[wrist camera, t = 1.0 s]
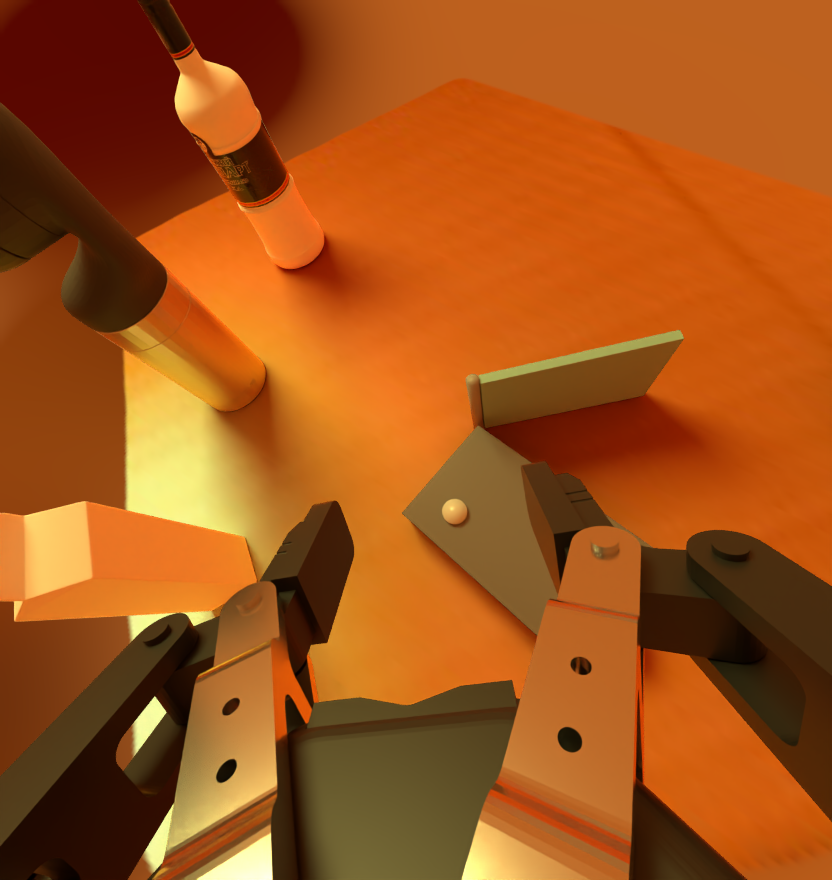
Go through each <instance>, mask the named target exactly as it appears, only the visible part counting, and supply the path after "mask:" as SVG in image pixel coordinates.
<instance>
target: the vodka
mask: <svg viewBox="0 0 832 880" xmlns="http://www.w3.org/2000/svg"><path fill="white" fill-rule="evenodd" d="M138 2H139V4H140V5H141V7H142V9H143V10H144V12H145V14H146V15H147V16H148V18H149V20H150V22H151V23H152V25H153V27H154V28H155V30H156V31H157V33H158V35H159V37H160V38H161V40H162V41H163V43H164V45H165V46H166V48H167V50H168V51H169V53H170V54H171V56H172V58H173V59H174V61H175V64H176V65H177V67H178V69H179V70H180V73H181V74H180V78H179V82H178V86H177V91H176V96H175V106H176V111H177V113H178V116H179V119H180V121H181V122H182V124H183V125H185V127H186V128H187V129H188V130H189V131H190V132H191V134H192V136H193V137H194V138H195V140H196V142H197V144H198V145H199V146H200V147H201V149H202V150H203V152H204V153H205V155H206V156H207V158H208V159H209V161H210V162H211V164H212V165H213V166H214V168H215V169H216V171H217V172H218V174H219V175H220V177H221V178H222V180H223V181H224V183H225V184H226V186H227V187H228V189H229V190H230V192H231V193H232V195H233V196H234V198H235V199H236V201H237V203H238V206H239V208H240V209H241V210H242V211H243V212H244V213H245V214H246V216H247V217H248V219H249V220H250V221H251V223H252V225H253V226H254V228H255V230H256V231H257V233H258V235H259V237H260V238H261V240H262V242H263V244H264V246H265V249H266V252H267V253H268V255H269V257H270V258H271V260H272V261H273V262H274V263H275V264H276V265H278V266H280V267H282V268H285V269H296V268H300V267H302V266H305V265H307V264H309V263H310V262H312V261H313V260H314V259H315V258H316V257H317V256H318V255H319V254H320V252H321V250H322V248H323V246H324V233H323V231H322V229H321V227H320V225H319V223H318V222H317V221H316V220H315V219H314V218H313V216H312V214H311V213H310V211H309V210H308V208H307V206H306V205H305V203H304V201H303V199H302V198H301V196H300V194H299V192H298V190H297V188H296V186H295V184H294V180H293V177H292V176H291V175H290V173H288V171H287V169H286V167H285V165H284V163H283V161H282V159H281V157H280V155H279V153H278V151H277V149H276V147H275V146H274V144H273V142H272V140H271V138H270V136H269V134H268V132H267V130H266V128H265V126H264V124H263V122H262V120H261V115H260V113H259V111H258V109H257V108H256V107H255V105H254V103H253V100H252V98H251V95H250V93H249V91H248V89H247V86H246V84H245V83H244V82H243V80H242V79H241V78H240V77H239V76H238V75H237V74H236V72H234V71H233V70H231V69H230V68H227V67H225V66H222V65H218V64H215V63H211V62H208V61H204V60H203V59H202V58H201V57H200V55H199V53H198V52H197V50H196V49H195V46H194V44H193V43H192V41H191V39H190V37H189V35H188V34H187V32H186V30H185V28H184V27H183V25H182V23H181V21H180V19H179V18H178V16H177V14H176V12H175V11H174V9H173V7H172V5H171V4H170V2H169V0H138Z"/></svg>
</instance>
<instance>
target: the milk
mask: <svg viewBox="0 0 832 880" xmlns="http://www.w3.org/2000/svg"><path fill="white" fill-rule="evenodd" d="M253 583H257V579H256V575H255V572H254V568H253V565H252V561H251V558H250V554H249V550H248V547H247V543H246V540H245V537H243V536H238V535H234V534H229V533H225V532H221V531H216V530H212V529H207V528H203V527H198V526H194V525H189V524H185V523H180V522H176V521H172V520H167V519H163V518H158V517H154V516H149V515H145V514H140V513H136V512H131V511H127V510H122V509H117V508H114V507H109V506H105V505H100V504H96V503H91V502H87V501H85V502H79V503H75V504H71V505H67V506H63V507H59V508H55V509H51V510H46V511H42V512H39V513H34V514H30V515H26V516H21V515H14V514H8V513H0V601H14V621H15V622H20V621H38V620H56V619H74V618H92V617H109V616H129V615H147V614H165V613H183V612H201V611H212V610H214V609H216V608H218V607H220V606H221V605H223V604H225V603H226V602H227V601H228V600H229V599H230V598H231V597H232V596H233V595H234V594H235V593H237V592H238V591H240V590H241V589H243V588H244V587H246V586H248V585H251V584H253Z"/></svg>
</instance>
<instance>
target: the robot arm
mask: <svg viewBox="0 0 832 880" xmlns="http://www.w3.org/2000/svg"><path fill="white" fill-rule="evenodd" d="M68 233H71V234H73V235H75V236H77V237H78V238H79V243H78V249H77V252H76V255H75V258H74V260H73V262H72V264H71V265H70V268H69V269H68V271H67V273H66V275H65V278H64V281H63V284H62V289H61V297H62V302H63V304H64V307H65V308H66V310H67V311H68V312H69V313H70V314H71V315H72V316H74V317H75V318H76V319H78V320H79V321H81V322H82V323H84V324H85V325H87V326H88V327H90V328H91V329H93V330H95V331H96V332H98V333H99V334H101V335H102V336H104V337H105V338H107V339H109V340H110V341H112V342H113V343H115V344H116V345H118V346H119V347H121V348H122V349H124V350H126V351H127V352H129V353H130V354H132V355H133V356H135V357H136V358H138V359H140V360H141V361H143V362H144V363H146V364H147V365H149V366H150V367H152V368H153V369H155V370H157V371H158V372H160V373H161V374H163V375H164V376H166V377H167V378H169V379H170V380H172V381H174V382H175V383H177V384H178V385H180V386H181V387H183V388H184V389H186V390H187V391H189V392H190V393H192V394H193V395H195V396H196V397H198V398H200V399H201V400H203V401H204V402H206V403H207V404H209V405H210V406H212V407H214V408H215V409H217V410H220V411H228V412H229V411H235V410H238V409H240V408H243V407H244V406H246V405H248V404H249V403H250V402H251V401H253V400H254V399H255V398H256V396H257V395H258V394H259V392H260V391H261V389H262V387H263V385H264V382H265V377H266V370H265V366H264V364H263V362H262V361H261V360H260V359H259V358H258V357H257V356H256V355H255V354H254V353H253V352H252V351H251V350H250V349H249V348H248V347H247V346H246V345H245V344H244V343H243V342H242V341H241V340H240V339H239V338H238V337H237V336H236V335H235V334H234V333H233V332H232V331H231V330H230V329H228V328H227V327H226V326H225V325H224V324H223V323H222V322H221V321H220V320H219V319H218V318H217V317H216V316H215V315H214V314H213V313H212V312H211V311H210V310H209V309H208V308H207V307H206V306H205V305H204V304H203V303H202V302H201V301H200V300H199V299H198V298H197V297H196V296H195V295H193V294H192V293H191V292H190V291H189V290H188V289H187V288H186V287H185V286H184V285H183V284H182V283H181V282H180V281H179V280H178V279H177V278H176V277H175V276H174V275H173V274H172V273H171V272H170V271H169V270H168V269H166V268H165V267H164V266H163V265H162V264H161V263H160V262H159V261H158V260H157V259H156V258H155V257H154V256H153V255H152V254H151V253H150V252H149V251H148V250H147V249H146V248H145V247H144V246H143V245H142V244H141V243H140V242H138V241H137V240H136V239H135V238H134V237H133V236H132V235H131V234H130V233H129V232H128V231H127V230H126V229H125V228H124V227H123V226H122V225H121V224H120V223H119V222H118V221H117V220H116V219H115V218H114V217H113V216H112V215H111V214H110V213H109V212H108V211H107V210H106V209H105V208H104V207H103V206H102V205H101V204H100V203H99V202H98V201H97V200H96V199H95V198H94V197H93V196H92V195H91V193H90V192H89V191H87V189H86V188H85V187H84V186H83V185H82V184H81V183H80V182H79V181H78V180H77V179H76V178H75V176H74V175H73V174H72V173H71V172H70V171H69V170H68V169H67V168H66V167H65V166H64V165H63V164H62V163H61V162H60V160H58V158H57V157H56V156H55V155H54V154H53V153H52V152H51V151H50V150H49V149H48V148H47V147H46V146H45V145H44V144H43V143H42V142H41V141H40V140H39V139H38V138H37V137H36V136H35V135H34V133H33V132H32V131H31V130H30V129H29V128H28V127H27V126H25V124H23V123H22V122H21V121H20V120H19V119H18V118H17V117H16V116H15V115H14V114H12V113H11V112H10V111H9V110H8V109H7V108H6V107H5V106H4V105H2V104H1V103H0V272H5V271H8V270H11V269H14V268H16V267H18V266H20V265H22V264H24V263H25V262H27V261H28V260H30V259H31V258H32V257H34V256H36V255H37V254H39V253H40V252H42V251H43V250H45V249H46V248H47V247H49V246H50V245H52V244H53V243H55V242H56V241H58V240H59V239H61V238H62V237H63V236H64V235H66V234H68ZM521 473H522V480H523V486H524V492H525V498H526V504H527V510H528V515H529V519H530V523H531V526H532V529H533V532H534V534H535V537H536V539H537V542H538V545H539V547H540V550H541V552H542V555H543V558H544V560H545V563H546V565H547V568H548V571H549V573H550V576H551V578H552V581H553V584H554V586H555V589H556V591H557V594H558V597H557V600H556V599H549V600H548V602H547V604H546V607H545V610H544V614H543V617H542V621H541V625H540V629H539V632H538V636H537V640H536V643H535V647H534V651H533V654H532V658H531V662H530V665H529V669H528V673H527V676H526V680H525V684H524V687H523V691H522V695H521V698H520V699H517V698H516V696H515V692H514V687H513V683H512V680H509V681H500V682H491V683H482V684H474V685H465V686H459V687H457V688H454V689H451V690H449V691H446V692H444V693H441V694H439V695H436V696H433V697H431V698H428V699H426V700H423V701H420V702H418V703H415V704H412V705H399V704H394V703H388V702H382V701H377V700H371V699H366V698H351V699H343V700H334V701H325V702H319V701H318V695H317V689H316V683H315V677H314V671H313V665H312V661H311V659H310V657H309V655H308V652H309V649H310V646H311V645H314V644H321V643H327V642H328V638H329V635H330V632H331V629H332V625H333V622H334V619H335V616H336V613H337V609H338V606H339V603H340V600H341V596H342V593H343V590H344V587H345V583H346V580H347V577H348V574H349V570H350V567H351V564H352V561H353V557H354V545H353V540H352V537H351V534H350V532H349V529H348V526H347V524H346V521H345V518H344V515H343V513H342V510H341V507H340V505H339V503H338V502H337V501H331V502H325V503H320V504H315V505H313V506H312V507H311V509H310V511H309V513H308V514H307V516H306V518H305V520H304V521H303V522H300V523H299V524H298V525H297V526H295V527H294V528H293V529H292V530H291V531H290V532H289V533H288V535H287V536H286V538H285V540H284V541H283V543H282V546H280V548H279V550H278V551H277V555H275V556H274V558H273V560H272V561H271V563H270V565H269V566H268V568H267V570H266V571H265V573H264V575H263V576H262V578H261V580H260V581H259V582H257V583H253V584H251V585H248V586H246V587H244V588H243V589H241V590H240V591H238V592H237V593H235V594H234V595H233V596H232V597H231V598H230V599H229V600H228V601H227V602H226V603H225V605H224V606H223V608H222V610H221V613H220V616H219V617H216V618H213V619H211V620H208V621H206V622H203V623H201V624H198V625H196V626H193V624H192V623H191V621H190V619H189V618H188V616H187V615H186V614H183V613H176V614H172V615H169V616H166V617H164V618H162V619H160V620H158V621H156V622H154V623H153V624H151V625H150V626H148V627H147V628H146V629H144V630H143V631H142V632H141V633H140V634H139V635H138V636H137V637H136V638H135V639H134V640H133V641H132V642H131V643H130V644H129V645H128V646H127V647H126V648H125V649H124V650H123V651H122V652H121V653H120V654H119V655H118V656H117V657H116V658H115V659H114V660H113V661H112V662H111V663H110V664H109V665H108V666H107V667H106V668H105V669H104V671H102V672H101V674H100V675H99V676H98V677H97V678H96V679H95V680H94V681H93V682H92V683H91V684H90V685H89V686H88V687H87V688H86V689H85V690H84V691H83V692H82V693H81V694H80V695H79V696H78V697H77V698H76V699H75V700H74V701H73V702H72V703H71V704H70V705H69V706H68V708H66V709H65V710H64V711H63V712H62V713H61V715H60V716H59V717H58V718H57V719H56V720H55V721H54V722H53V723H52V724H51V725H50V726H49V727H48V728H47V729H46V730H45V731H44V732H43V733H42V734H41V735H40V736H39V737H38V738H37V739H36V740H35V741H34V742H33V743H32V744H31V745H30V746H29V747H28V748H27V749H26V750H25V751H24V752H23V753H22V755H21V756H20V757H19V758H18V759H17V760H16V761H15V762H14V763H13V764H12V765H11V766H10V767H9V768H8V769H7V770H6V771H5V772H4V773H3V774H2V775H1V776H0V880H128V878H129V876H130V875H131V873H132V871H133V870H134V868H135V866H136V865H137V863H138V861H139V860H140V858H141V856H142V855H143V853H144V851H145V850H146V848H147V846H148V845H149V843H150V841H151V840H152V838H153V837H154V835H155V833H156V832H157V830H158V828H159V827H160V825H161V823H162V822H163V820H164V818H165V817H166V815H167V813H168V812H169V810H170V808H171V807H172V805H173V803H174V806H173V812H172V817H171V823H170V829H169V835H168V840H167V846H166V852H165V856H164V860H163V863H162V864H161V865H160V866H159V867H158V868H157V870H156V871H155V872H154V873H153V874H152V875H151V876H150V877H149V878H148V880H747V879H746V878H745V877H744V876H743V875H742V874H741V873H739V872H738V871H737V870H736V869H735V868H734V867H733V866H732V865H731V864H730V863H729V862H727V861H726V860H725V859H724V858H723V857H722V856H721V855H720V854H719V853H718V852H717V851H716V850H714V849H713V848H712V847H711V846H710V845H709V844H708V843H707V842H706V841H705V840H704V839H702V838H701V837H700V836H699V835H698V834H697V833H696V832H695V831H694V830H693V829H692V828H691V827H689V826H688V825H687V824H686V823H685V822H684V821H683V820H682V819H681V818H680V817H679V816H677V815H676V814H675V813H674V812H673V811H672V810H671V809H670V808H669V807H668V806H667V805H666V804H664V803H663V802H662V801H661V800H660V799H659V798H658V797H657V796H656V795H655V794H654V793H652V792H651V791H650V790H649V789H648V788H647V787H646V786H645V785H644V648H647V649H654V650H660V651H666V652H673V653H679V654H685V655H690V657H691V658H692V659H693V661H694V662H695V663H696V664H697V665H698V666H699V668H700V669H701V670H702V671H703V672H704V673H705V675H706V676H707V677H708V678H709V679H710V680H711V682H712V683H713V684H714V685H715V686H716V687H717V689H718V690H719V691H720V692H721V693H722V694H723V696H724V697H725V698H726V699H727V700H728V701H729V703H730V704H731V705H732V706H733V707H734V708H735V710H736V711H737V712H738V713H739V714H740V715H741V717H742V718H743V719H744V720H745V721H746V722H747V724H748V725H749V726H750V727H751V728H752V729H753V731H754V732H755V733H756V734H757V735H758V736H759V738H760V739H761V740H762V741H763V742H764V743H765V745H766V746H767V747H768V748H769V749H770V750H771V752H772V753H773V754H774V755H775V756H776V757H777V759H778V760H779V761H780V762H781V763H782V764H783V766H784V767H785V768H786V769H787V770H788V771H789V773H790V774H791V775H792V776H793V777H794V778H795V780H796V781H797V782H798V783H799V784H800V785H801V787H802V788H803V789H804V790H805V791H806V792H807V794H808V795H809V796H810V797H811V798H812V799H813V801H814V802H815V803H816V804H817V805H818V806H819V808H820V809H821V810H822V811H823V812H824V813H825V815H826V816H827V817H828V818H829V819H830V820H831V822H832V586H830V585H829V584H827V583H826V582H824V581H823V580H821V579H820V578H818V577H816V576H815V575H813V574H812V573H810V572H809V571H807V570H806V569H804V568H802V567H801V566H799V565H798V564H796V563H795V562H793V561H792V560H790V559H788V558H787V557H785V556H784V555H782V554H781V553H779V552H777V551H776V550H774V549H773V548H771V547H770V546H768V545H767V544H765V543H763V542H762V541H760V540H758V539H756V538H753V537H751V536H748V535H745V534H742V533H738V532H733V531H725V530H710V531H704V532H700V533H697V534H695V535H693V536H692V537H691V538H690V539H689V540H688V542H687V545H686V550H674V549H658V548H651V547H645V546H642V545H640V543H639V541H638V540H637V539H636V538H635V537H634V536H633V535H632V534H630V533H629V532H627V531H624V530H622V529H619V528H615V527H614V526H613V525H612V524H611V522H610V521H609V519H608V518H607V517H606V515H605V514H604V512H603V511H602V510H601V508H600V507H599V506H598V504H597V503H596V501H595V500H593V497H592V496H591V494H590V493H589V492H587V489H586V488H585V486H584V485H583V483H582V482H581V481H580V480H579V479H577V478H575V477H574V476H572V475H570V474H568V473H564V474H558V475H554V474H553V472H552V471H551V469H550V467H549V466H548V464H547V462H546V461H541V462H536V463H531V464H525V465H521ZM154 696H155V697H156V698H157V699H158V701H159V702H160V704H161V705H162V706H163V708H164V709H165V710H166V712H167V713H166V714H165V716H164V717H163V718H162V720H161V721H160V722H159V724H158V725H157V726H156V728H155V729H154V731H153V732H152V733H151V735H150V736H149V737H148V739H147V740H146V741H145V743H144V744H143V745H142V747H141V748H140V749H139V751H138V752H137V753H136V755H135V756H134V758H133V759H132V760H131V762H130V763H129V765H128V766H127V767H126V768H125V770H124V771H122V769H121V768H120V767H119V766H118V764H117V762H116V750H117V747H118V744H119V742H120V740H121V738H122V737H123V735H124V734H125V733H126V731H127V730H128V729H129V728H130V726H131V725H132V724H133V723H134V721H135V720H136V719H137V718H138V716H139V715H140V714H141V713H142V711H143V710H144V709H145V708H146V706H147V705H148V704H149V703H150V701H151V700H152V699H153V698H154Z"/></svg>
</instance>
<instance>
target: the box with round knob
mask: <svg viewBox="0 0 832 880" xmlns="http://www.w3.org/2000/svg"><path fill="white" fill-rule="evenodd" d="M525 464H531V462H530V461H528V460H527V459H526V458H524V457H523V456H521V455H520V454H518V453H517V452H516V451H514V450H513V449H511V448H510V447H508V446H507V445H506V444H504V443H503V442H501V441H500V440H498V439H497V438H496V437H494V436H493V435H491V434H490V433H488V432H487V431H486V430H484V429H483V428H481V427H480V426H477V427H476V428H475V429H474V431H473V432H472V433H471V434H470V435H469V436H468V437H467V439H466V440H465V441H464V442H463V443H462V444H461V446H460V447H459V448H458V449H457V450H456V451H455V452H454V454H453V455H452V456H451V457H450V458H449V459H448V461H447V462H446V463H445V464H444V465H443V466H442V467H441V469H440V470H439V471H438V472H437V473H436V474H435V476H434V477H433V478H432V479H431V480H430V481H429V482H428V484H427V485H426V486H425V487H424V488H423V489H422V491H421V492H420V493H419V494H418V495H417V496H416V497H415V499H414V500H413V501H412V502H411V503H410V504H409V506H408V507H407V508H406V509H405V510H404V511H403V512H402V514H403V515H404V516H405V517H407V518H408V519H409V520H410V521H411V522H412V523H413V524H414V525H415V526H416V527H418V528H419V529H420V530H421V531H422V532H423V533H424V534H425V535H426V536H428V537H429V538H430V539H431V540H432V541H433V542H434V543H435V544H436V545H437V546H439V547H440V548H441V549H442V550H443V551H444V552H445V553H446V554H447V555H449V556H450V557H451V558H452V559H453V560H454V561H455V562H456V563H457V564H458V565H460V566H461V567H462V568H463V569H464V570H465V571H466V572H467V573H468V574H469V575H471V576H472V577H473V578H474V579H475V580H476V581H477V582H478V583H479V584H481V585H482V586H483V587H484V588H485V589H486V590H487V591H488V592H489V593H490V594H492V595H493V596H494V597H495V598H496V599H497V600H498V601H499V602H500V603H502V604H503V605H504V606H505V607H506V608H507V609H508V610H509V611H510V612H511V613H513V614H514V615H515V616H516V617H517V618H518V619H519V620H520V621H521V622H523V623H524V624H525V625H526V626H527V627H528V628H529V629H530V630H531V631H532V632H534V633H535V634H536V635H537V636H538V632H539V629H540V625H541V621H542V617H543V614H544V610H545V607H546V604H547V602H548V600H549V599H556V600H557V597H558V594H557V591H556V589H555V586H554V584H553V581H552V578H551V576H550V573H549V571H548V568H547V565H546V563H545V560H544V558H543V555H542V552H541V550H540V547H539V545H538V542H537V539H536V537H535V534H534V532H533V529H532V526H531V523H530V519H529V515H528V510H527V504H526V498H525V492H524V486H523V480H522V473H521V465H525ZM605 515H606V514H605ZM606 517H607V518H608V519H609V521H610V522H611V524H612V525H613V526H614V527H615V528H619V529H622V530H624V531H627V532H629V533H630V534H632V535H633V536H634V537H635V538H636V539H637V540H638V541H639V543H640V545H642V546H645V547H651V546H650V545H648V544H647V543H646V542H644V541H643V540H641V539H640V538H638V537H637V536H636V535H634V534H633V533H631V532H630V531H628V530H627V529H626V528H624V527H623V526H621V525H620V524H618V523H617V522H616V521H614V520H613V519H611V518H610V517H608V516H607V515H606ZM651 548H653V547H651Z"/></svg>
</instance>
